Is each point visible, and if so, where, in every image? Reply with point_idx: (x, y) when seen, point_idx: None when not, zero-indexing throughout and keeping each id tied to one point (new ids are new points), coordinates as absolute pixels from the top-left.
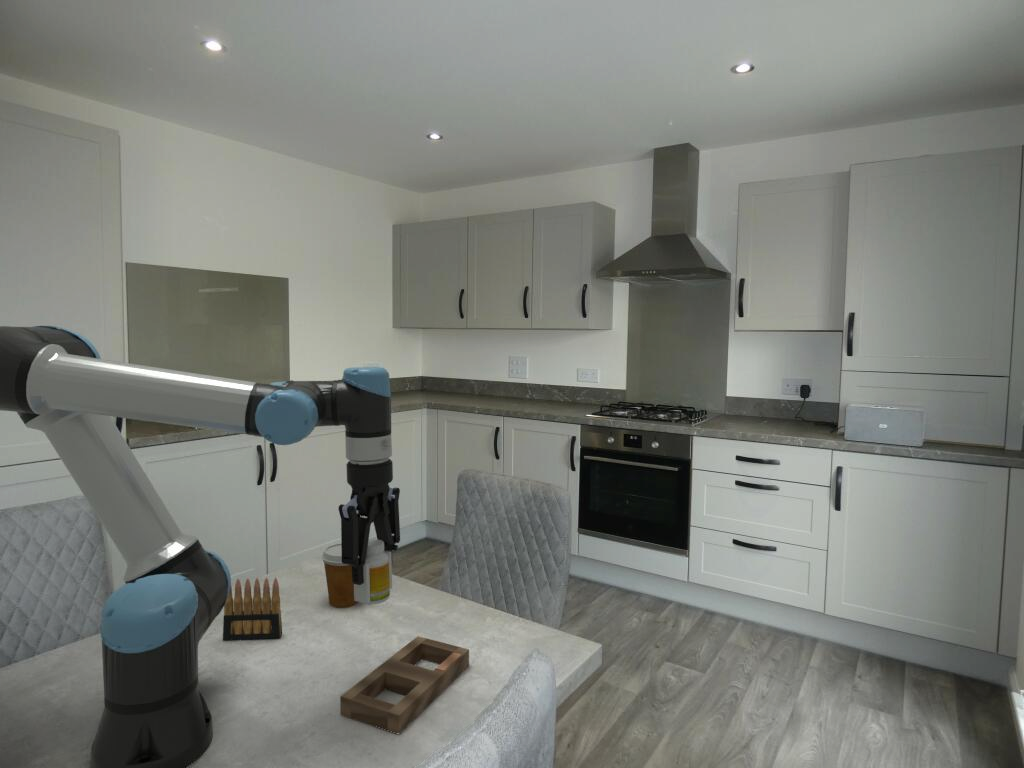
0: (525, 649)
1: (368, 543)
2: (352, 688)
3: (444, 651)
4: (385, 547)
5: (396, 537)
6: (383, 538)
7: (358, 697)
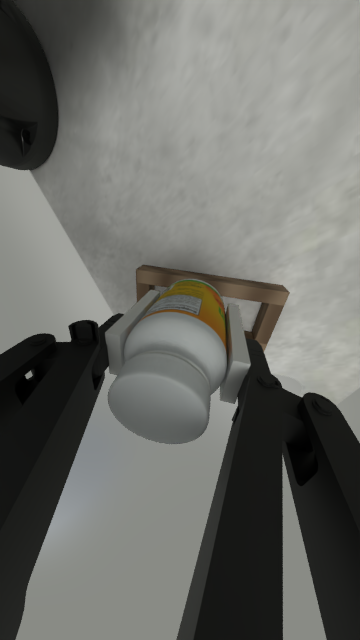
0: (300, 380)
1: (145, 404)
2: (152, 273)
3: (257, 330)
4: (240, 398)
5: (285, 453)
6: (231, 435)
7: (143, 287)
